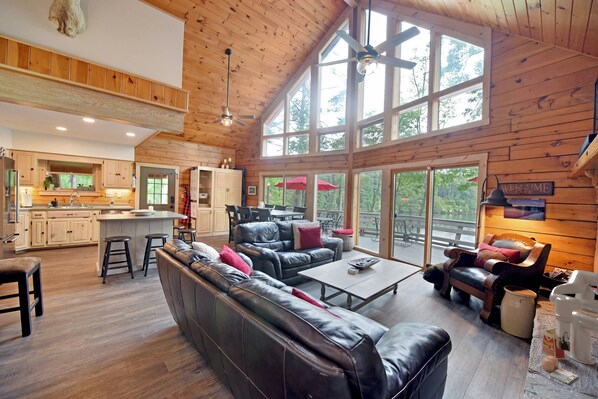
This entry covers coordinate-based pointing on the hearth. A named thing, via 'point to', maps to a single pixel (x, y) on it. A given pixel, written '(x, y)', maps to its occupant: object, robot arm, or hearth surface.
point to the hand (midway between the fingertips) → (563, 347)
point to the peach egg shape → (554, 361)
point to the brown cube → (558, 343)
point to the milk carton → (552, 344)
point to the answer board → (563, 375)
